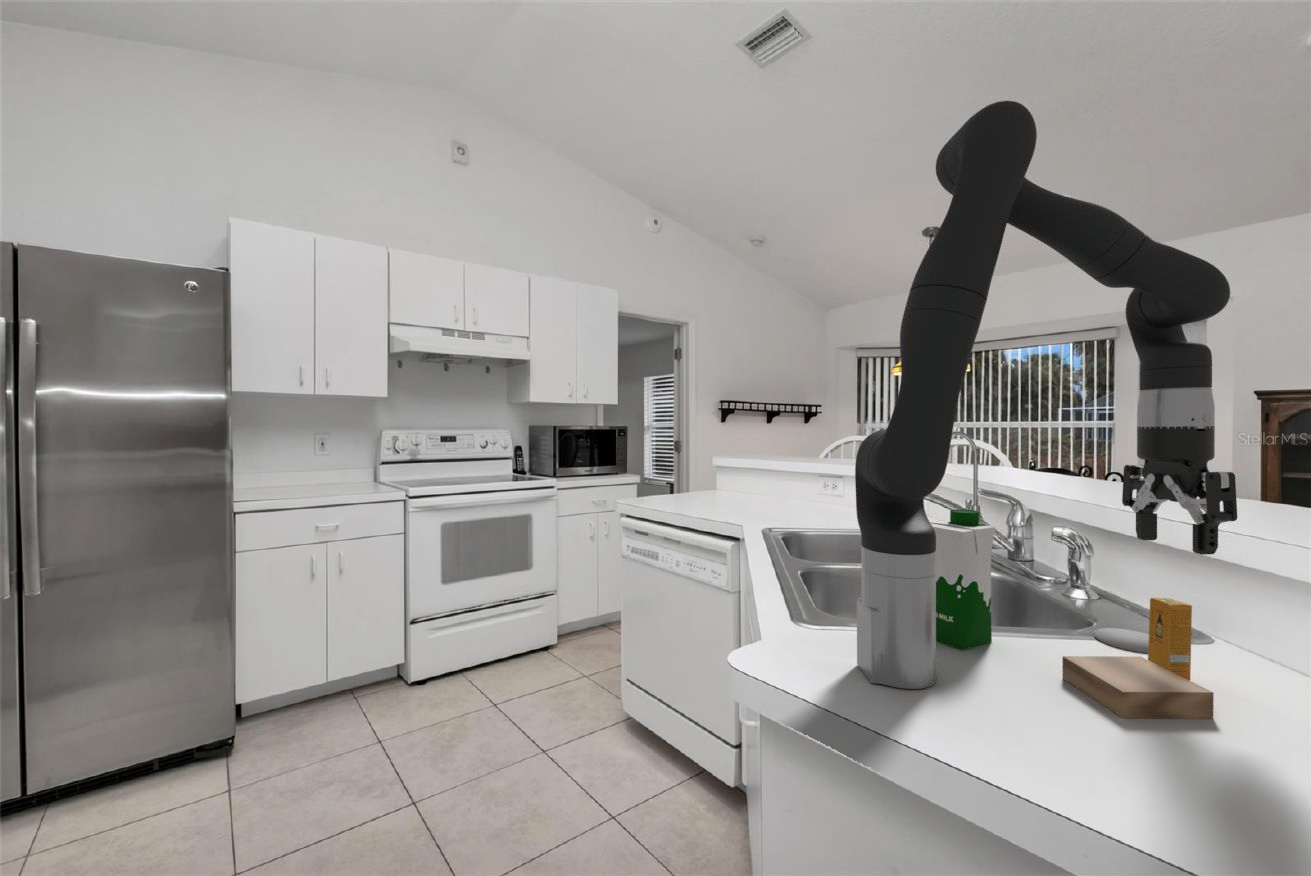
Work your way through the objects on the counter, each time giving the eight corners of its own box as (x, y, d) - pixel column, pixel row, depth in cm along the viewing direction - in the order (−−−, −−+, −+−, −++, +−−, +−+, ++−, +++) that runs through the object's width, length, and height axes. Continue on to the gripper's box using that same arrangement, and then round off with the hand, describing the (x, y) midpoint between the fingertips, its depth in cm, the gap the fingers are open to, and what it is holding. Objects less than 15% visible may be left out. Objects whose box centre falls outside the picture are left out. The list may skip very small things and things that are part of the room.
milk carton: (1001, 642, 87) (1001, 513, 86) (963, 654, 83) (963, 518, 82) (948, 625, 94) (948, 506, 94) (912, 634, 90) (912, 510, 90)
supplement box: (1194, 681, 73) (1195, 604, 73) (1167, 681, 73) (1167, 604, 73) (1171, 670, 76) (1172, 597, 76) (1145, 670, 77) (1146, 597, 76)
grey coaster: (1124, 653, 82) (1124, 650, 82) (1080, 631, 91) (1080, 628, 91) (1188, 653, 82) (1188, 650, 82) (1137, 631, 91) (1137, 628, 91)
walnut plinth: (1122, 717, 64) (1122, 691, 64) (1062, 678, 74) (1062, 656, 74) (1213, 718, 64) (1213, 692, 64) (1140, 679, 74) (1140, 656, 74)
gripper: (1104, 424, 81) (1103, 536, 82) (1194, 424, 67) (1194, 559, 67) (1157, 423, 81) (1157, 536, 81) (1260, 423, 67) (1259, 559, 67)
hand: (1174, 546), depth 74 cm, fingers open, 8 cm apart
